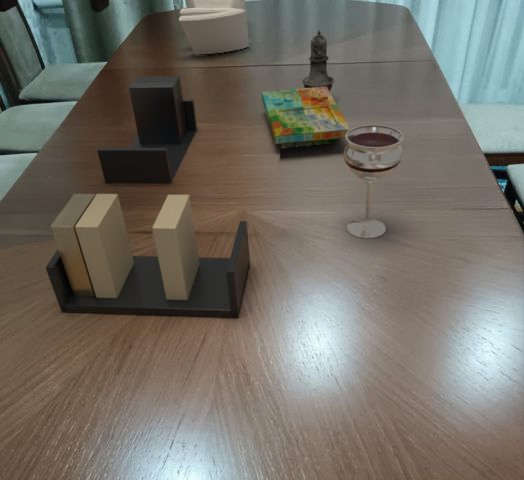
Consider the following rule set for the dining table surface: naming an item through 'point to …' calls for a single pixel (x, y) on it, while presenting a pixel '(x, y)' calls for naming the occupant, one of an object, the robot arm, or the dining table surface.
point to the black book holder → (133, 268)
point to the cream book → (176, 246)
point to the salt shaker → (318, 64)
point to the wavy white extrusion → (215, 25)
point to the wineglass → (371, 167)
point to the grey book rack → (153, 134)
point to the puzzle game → (304, 117)
